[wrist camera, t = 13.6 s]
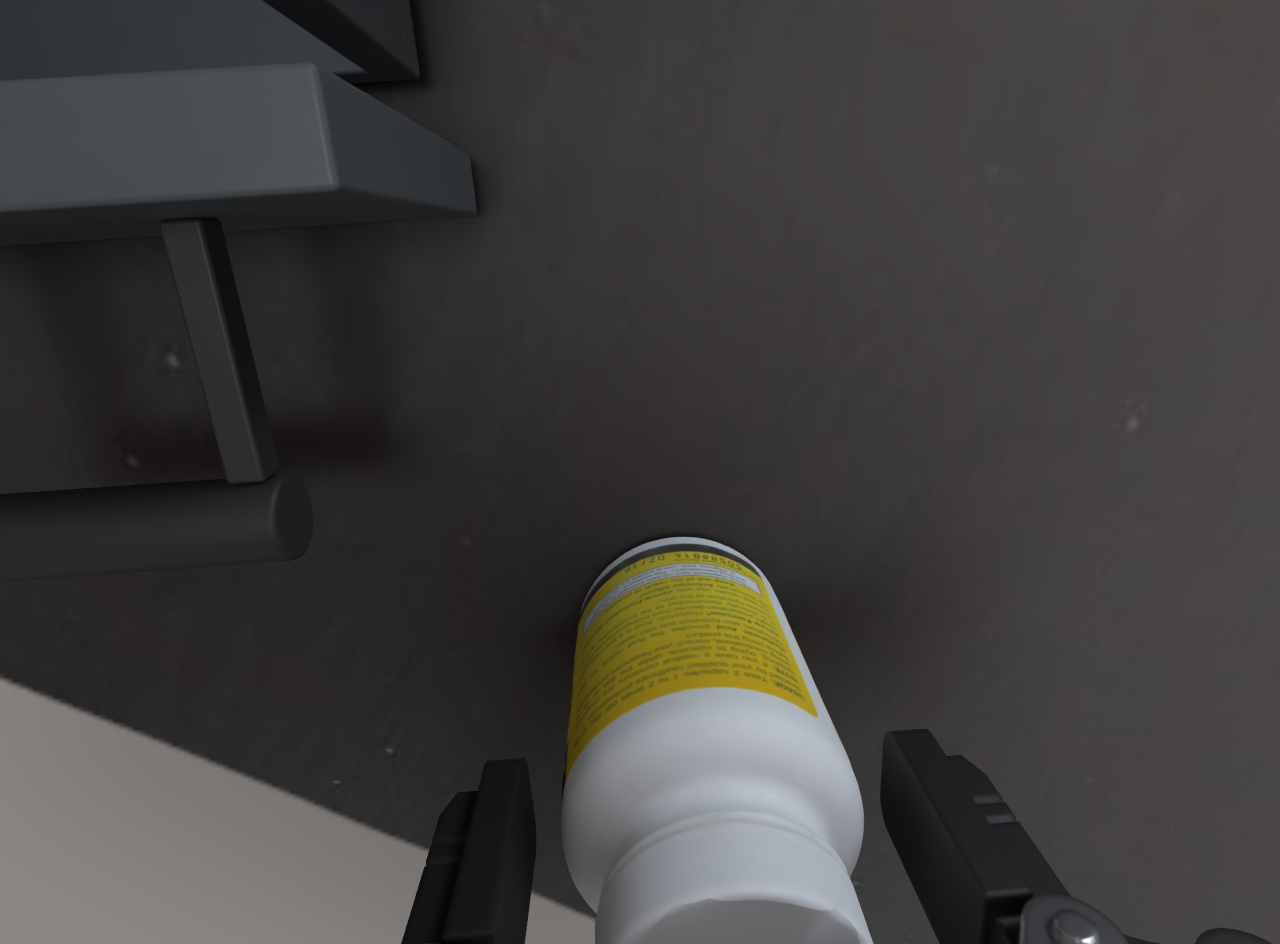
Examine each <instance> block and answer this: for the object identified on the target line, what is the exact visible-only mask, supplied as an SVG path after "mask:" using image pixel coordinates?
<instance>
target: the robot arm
mask: <svg viewBox="0 0 1280 944" xmlns="http://www.w3.org/2000/svg"><path fill="white" fill-rule="evenodd" d="M880 800H881V809H882V814H883V818H884V822H885V825H886V828H887V831H888V833H889V835H890V837H891V840H892V842H893V844H894V846H895V848H896V850H897V852H898V855H899V857H900V859H901V861H902V863H903V865H904V868H905V870H906V872H907V874H908V876H909V878H910V881H911V883H912V885H913V887H914V889H915V891H916V893H917V896H918V898H919V900H920V902H921V904H922V906H923V909H924V911H925V913H926V915H927V917H928V919H929V921H930V924H931V926H932V928H933V930H934V932H935V934H936V937H937V939H938V941H939V943H940V944H1158V943H1153V942H1148V941H1144V940H1140V939H1136V938H1132V937H1130V936H1127V935H1124V934H1123V933H1122V932H1121V931H1120V929H1119V928H1118V927H1117V926H1116V925H1115V924H1114V923H1113V922H1112V921H1111V920H1110V919H1109V918H1108V917H1107V916H1106V915H1104V914H1103V913H1102V912H1101V911H1099V910H1098V909H1096V908H1094V907H1093V906H1091V905H1089V904H1087V903H1085V902H1083V901H1081V900H1079V899H1076V898H1074V897H1071V896H1070V894H1069V893H1068V892H1067V890H1066V889H1065V887H1064V886H1063V885H1062V883H1061V882H1060V880H1059V879H1058V877H1057V876H1056V874H1055V873H1054V872H1053V870H1052V869H1051V867H1050V866H1049V864H1048V863H1047V862H1046V860H1045V859H1044V857H1043V856H1042V854H1041V853H1040V851H1039V850H1038V849H1037V847H1036V846H1035V844H1034V843H1033V841H1032V840H1031V839H1030V837H1029V836H1028V834H1027V833H1026V831H1025V830H1024V829H1023V827H1022V826H1021V824H1020V823H1019V822H1017V821H1016V819H1015V816H1014V814H1013V813H1012V811H1011V810H1010V808H1009V807H1008V806H1007V804H1006V803H1005V802H1003V801H1002V797H1001V796H1000V794H999V793H998V791H997V790H996V788H995V787H994V785H993V784H992V783H991V781H990V780H989V778H988V777H987V775H986V774H985V773H983V772H982V771H981V770H979V769H978V768H977V767H976V766H974V765H973V764H972V763H970V762H969V761H968V760H966V759H965V758H964V757H963V756H961V755H956V756H946V755H945V754H944V752H943V751H942V749H941V748H940V746H939V744H938V743H937V741H936V740H935V738H934V737H933V735H932V734H931V732H930V731H929V730H927V729H914V730H901V731H888V732H886V733H885V736H884V742H883V758H882V775H881V791H880ZM535 856H536V822H535V814H534V807H533V800H532V793H531V786H530V778H529V771H528V765H527V761H526V759H525V758H518V759H505V760H492V761H486V763H485V765H484V769H483V773H482V777H481V781H480V785H479V789H478V791H471V792H458V793H457V794H456V795H455V797H454V798H453V799H452V800H451V802H450V803H449V804H448V806H447V807H446V808H445V809H444V811H443V812H442V813H441V814H440V817H439V820H438V823H437V827H436V830H435V833H434V837H433V840H432V845H431V847H430V850H429V853H428V857H427V860H426V867H424V870H423V873H422V876H421V880H420V883H419V887H418V890H417V893H416V896H415V900H414V903H413V906H412V910H411V913H410V916H409V920H408V923H407V926H406V930H405V933H404V937H403V940H402V943H401V944H525V937H526V929H527V928H526V927H527V921H528V913H529V905H530V897H531V889H532V881H533V873H534V865H535ZM1195 944H1272V943H1270V942H1268V941H1266V940H1264V939H1262V938H1260V937H1257V936H1255V935H1252V934H1249V933H1246V932H1243V931H1239V930H1235V929H1227V928H1215V929H1211V930H1207V931H1205V932H1204V933H1202V934H1201V935H1200V936H1199V937H1198V939H1197V941H1196V943H1195Z"/></svg>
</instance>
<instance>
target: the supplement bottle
mask: <svg viewBox="0 0 1280 944" xmlns="http://www.w3.org/2000/svg"><path fill="white" fill-rule="evenodd" d="M863 828H864V812H863V805H862V800H861V794H860V791H859V787H858V783H857V780H856V778H855V775H854V773H853V770H852V767H851V764H850V761H849V758H848V756H847V754H846V751H845V749H844V747H843V745H842V743H841V740H840V738H839V736H838V734H837V732H836V729H835V727H834V725H833V723H832V720H831V718H830V716H829V714H828V712H827V709H826V707H825V705H824V703H823V701H822V698H821V696H820V694H819V691H818V689H817V687H816V685H815V683H814V681H813V678H812V676H811V673H810V671H809V669H808V666H807V664H806V662H805V660H804V658H803V655H802V653H801V651H800V648H799V646H798V643H797V641H796V639H795V637H794V635H793V632H792V630H791V628H790V625H789V623H788V621H787V619H786V616H785V614H784V611H783V609H782V607H781V605H780V603H779V601H778V599H777V597H776V595H775V593H774V591H773V589H772V587H771V585H770V583H769V582H768V580H767V579H766V577H765V576H764V574H763V573H762V572H761V571H760V570H759V569H758V568H757V567H756V566H755V565H754V564H753V563H752V562H751V561H750V560H749V559H747V558H746V557H745V556H743V555H742V554H740V553H739V552H737V551H735V550H733V549H732V548H730V547H727V546H725V545H723V544H720V543H717V542H715V541H711V540H707V539H701V538H695V537H673V538H665V539H660V540H656V541H652V542H649V543H646V544H643V545H640V546H638V547H636V548H634V549H632V550H630V551H628V552H626V553H625V554H623V555H622V556H620V557H619V558H618V559H616V560H615V561H614V562H613V563H611V564H610V565H609V566H608V567H607V568H606V569H605V570H604V571H603V572H602V573H601V574H600V575H599V577H598V578H597V579H596V581H595V582H594V583H593V585H592V587H591V588H590V590H589V592H588V594H587V596H586V598H585V600H584V602H583V606H582V609H581V613H580V618H579V622H578V629H577V637H576V647H575V660H574V670H573V681H572V695H571V702H570V715H569V729H568V737H567V748H566V757H565V771H564V774H563V785H562V813H561V838H562V846H563V851H564V856H565V859H566V863H567V866H568V869H569V872H570V875H571V877H572V879H573V881H574V883H575V886H576V887H577V889H578V890H579V892H580V893H581V895H582V896H583V898H584V899H585V901H586V902H587V903H588V905H589V906H590V907H591V908H592V910H593V911H594V912H595V913H596V914H597V916H596V922H595V943H596V944H873V942H872V939H871V936H870V933H869V930H868V927H867V925H866V922H865V919H864V916H863V913H862V910H861V907H860V904H859V901H858V898H857V896H856V893H855V890H854V887H853V885H852V882H851V880H850V876H851V874H852V872H853V869H854V867H855V865H856V863H857V860H858V856H859V853H860V850H861V845H862V838H863Z"/></svg>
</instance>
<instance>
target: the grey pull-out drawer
mask: <svg viewBox="0 0 1280 944" xmlns="http://www.w3.org/2000/svg"><path fill="white" fill-rule="evenodd" d="M419 75H420V73H419V66H418V59H417V52H416V45H415V38H414V31H413V24H412V17H411V10H410V3H409V0H0V246H10V245H25V244H41V243H57V242H72V241H88V240H104V239H119V238H135V237H151V236H162V238H163V242H164V246H165V249H166V253H167V257H168V261H169V264H170V268H171V272H172V276H173V280H174V283H175V287H176V291H177V295H178V298H179V302H180V306H181V310H182V313H183V317H184V321H185V325H186V329H187V332H188V336H189V340H190V344H191V347H192V351H193V355H194V359H195V363H196V366H197V370H198V374H199V378H200V381H201V385H202V389H203V393H204V397H205V400H206V404H207V408H208V412H209V415H210V419H211V423H212V427H213V431H214V434H215V438H216V442H217V446H218V449H219V453H220V457H221V461H222V465H223V468H224V472H225V476H226V479H214V480H199V481H185V482H170V483H156V484H142V485H127V486H113V487H99V488H84V489H70V490H56V491H41V492H27V493H12V494H0V581H11V580H25V579H39V578H53V577H66V576H80V575H94V574H108V573H122V572H136V571H150V570H164V569H178V568H192V567H206V566H220V565H234V564H248V563H262V562H276V561H290V560H295V559H297V558H299V557H301V556H302V555H303V554H304V553H305V551H306V550H307V548H308V546H309V543H310V540H311V536H312V530H313V510H312V504H311V500H310V496H309V493H308V491H307V489H306V487H305V485H304V484H303V482H302V481H301V480H300V479H299V478H297V477H295V476H292V475H289V474H285V475H274V474H276V473H277V472H279V464H278V460H277V456H276V451H275V447H274V443H273V439H272V435H271V430H270V426H269V422H268V418H267V414H266V409H265V405H264V401H263V397H262V393H261V388H260V384H259V380H258V376H257V372H256V367H255V363H254V359H253V355H252V351H251V346H250V342H249V338H248V334H247V330H246V325H245V321H244V317H243V313H242V309H241V304H240V300H239V296H238V292H237V288H236V283H235V279H234V275H233V271H232V267H231V262H230V258H229V254H228V250H227V246H226V241H225V237H224V233H223V232H229V231H245V230H260V229H276V228H292V227H307V226H323V225H339V224H354V223H370V222H386V221H401V220H417V219H433V218H448V217H464V216H474V215H476V212H477V209H476V201H475V193H474V186H473V178H472V170H471V162H470V156H469V155H468V154H467V153H466V152H464V151H462V150H461V149H459V148H457V147H456V146H454V145H452V144H451V143H449V142H447V141H446V140H444V139H442V138H440V137H439V136H437V135H435V134H434V133H432V132H430V131H429V130H427V129H425V128H424V127H422V126H420V125H419V124H417V123H415V122H414V121H412V120H410V119H409V118H407V117H405V116H403V115H402V114H400V113H398V112H397V111H395V110H393V109H392V108H390V107H388V106H387V105H385V104H383V103H382V102H380V101H378V100H377V99H375V98H373V97H371V96H370V95H368V94H366V93H365V92H363V91H361V90H360V89H358V88H356V87H355V86H353V85H351V84H350V83H363V82H380V81H396V80H413V79H418V78H419Z"/></svg>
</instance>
